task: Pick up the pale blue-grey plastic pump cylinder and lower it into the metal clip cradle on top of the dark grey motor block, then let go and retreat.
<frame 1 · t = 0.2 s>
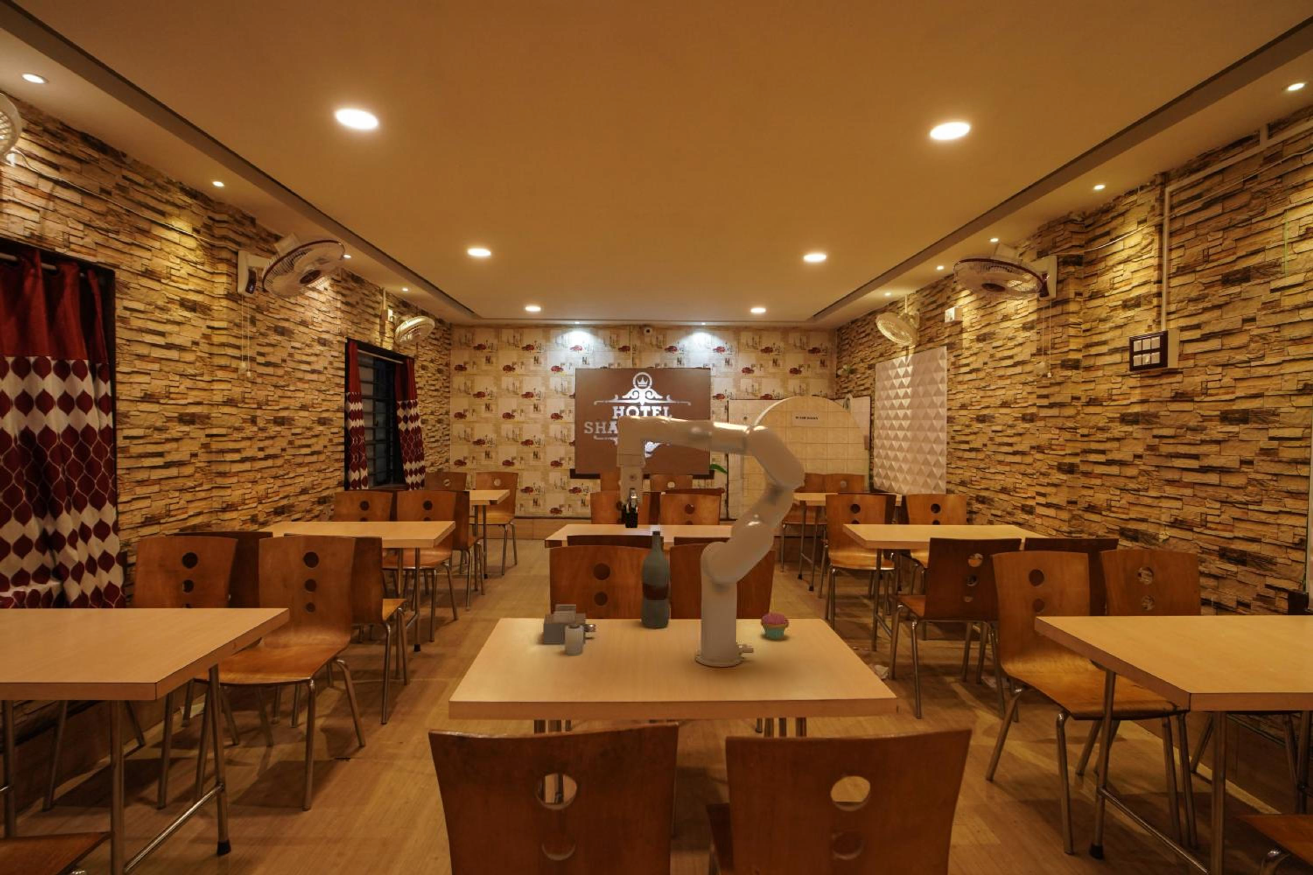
hand: (629, 525, 168), 36 cm above the table, tool pointing down, fingers open, 9 cm apart
bottle: (655, 625, 201), on the table
motor: (564, 638, 186), on the table
pump: (573, 652, 174), on the table
cupcake: (774, 637, 190), on the table
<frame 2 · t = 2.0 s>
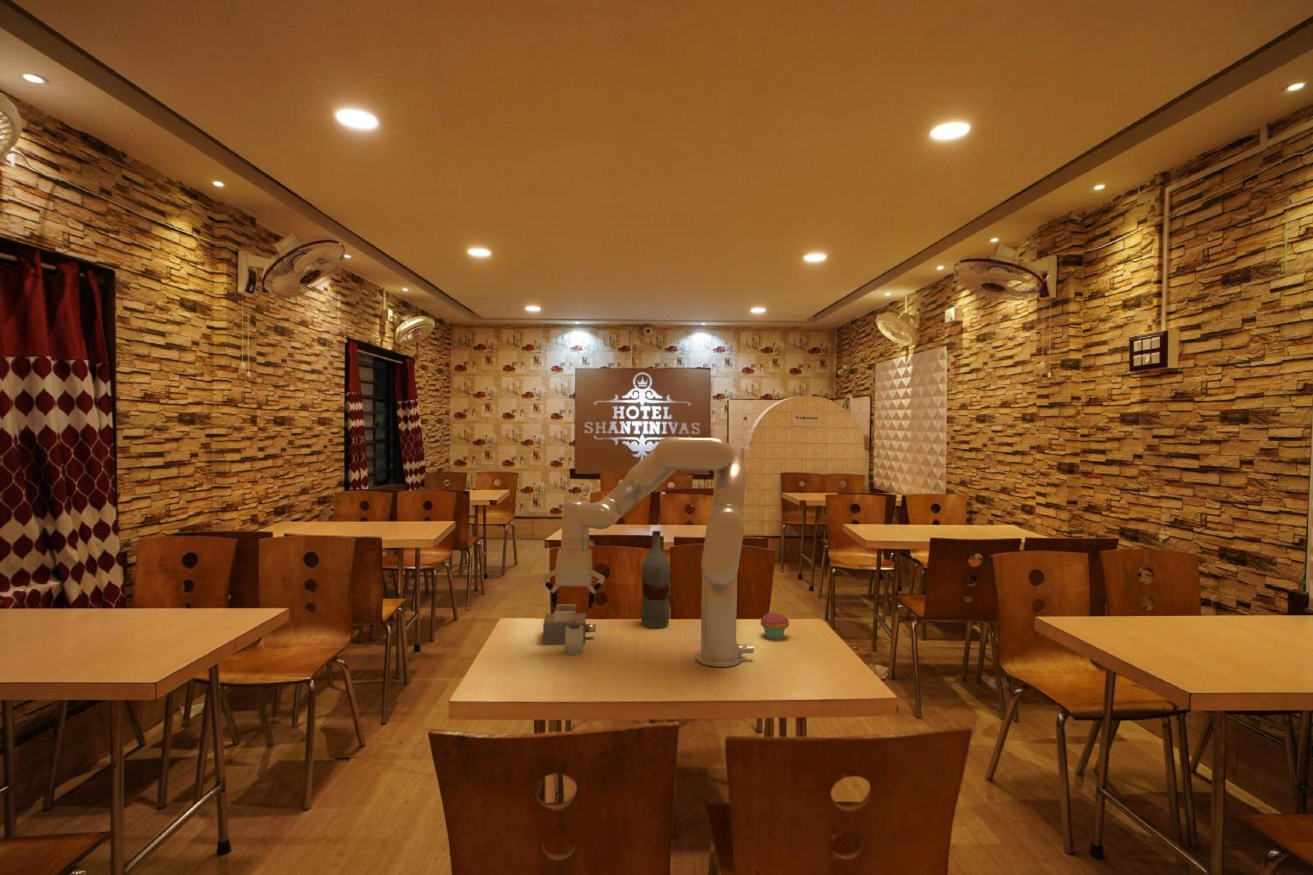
hand: (572, 606, 174), 13 cm above the table, tool pointing down, fingers open, 9 cm apart
nothing on the table moved.
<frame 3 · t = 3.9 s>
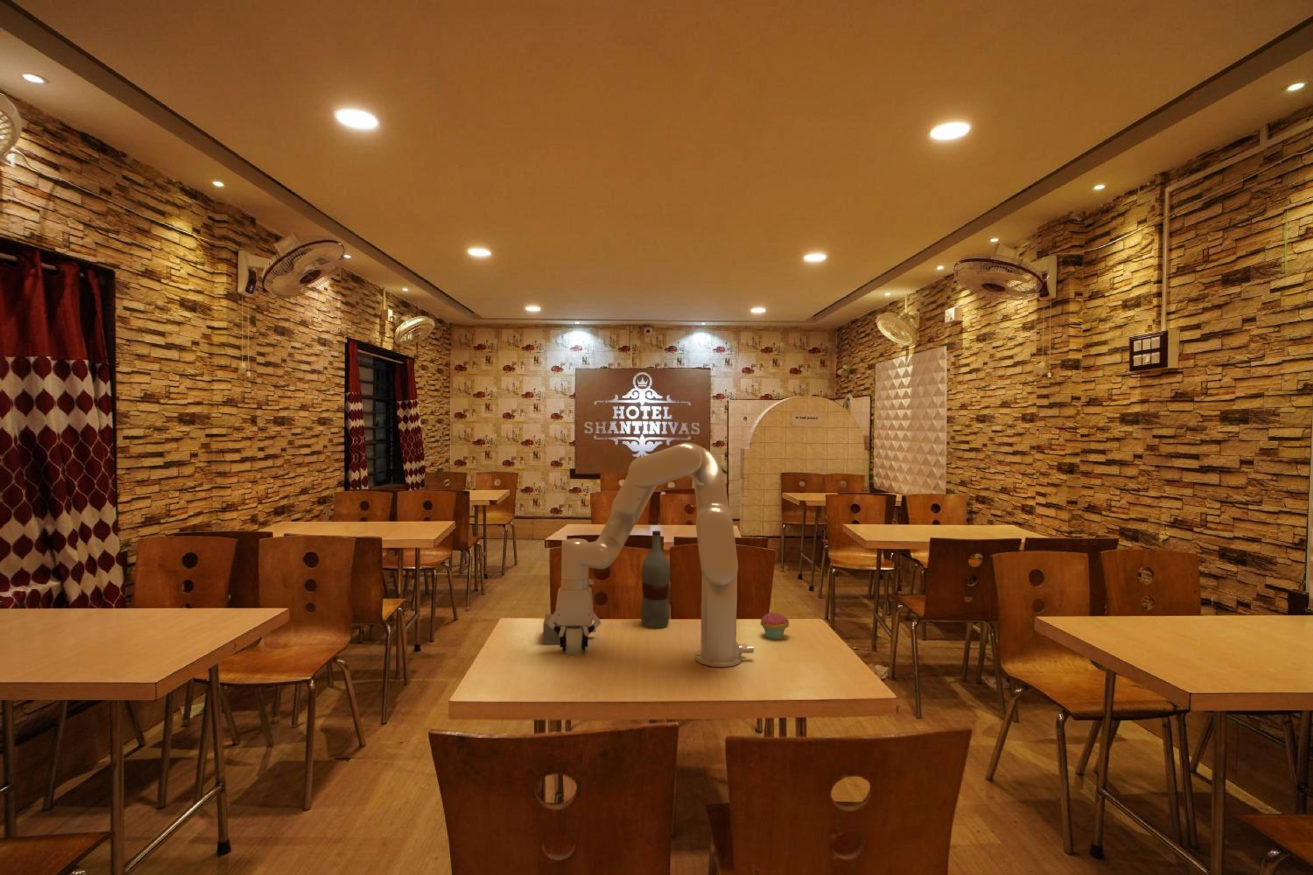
hand: (574, 648, 174), 1 cm above the table, tool pointing down, fingers closed on pump, 5 cm apart
pump: (573, 652, 174), on the table, touching gripper
everything else where it was.
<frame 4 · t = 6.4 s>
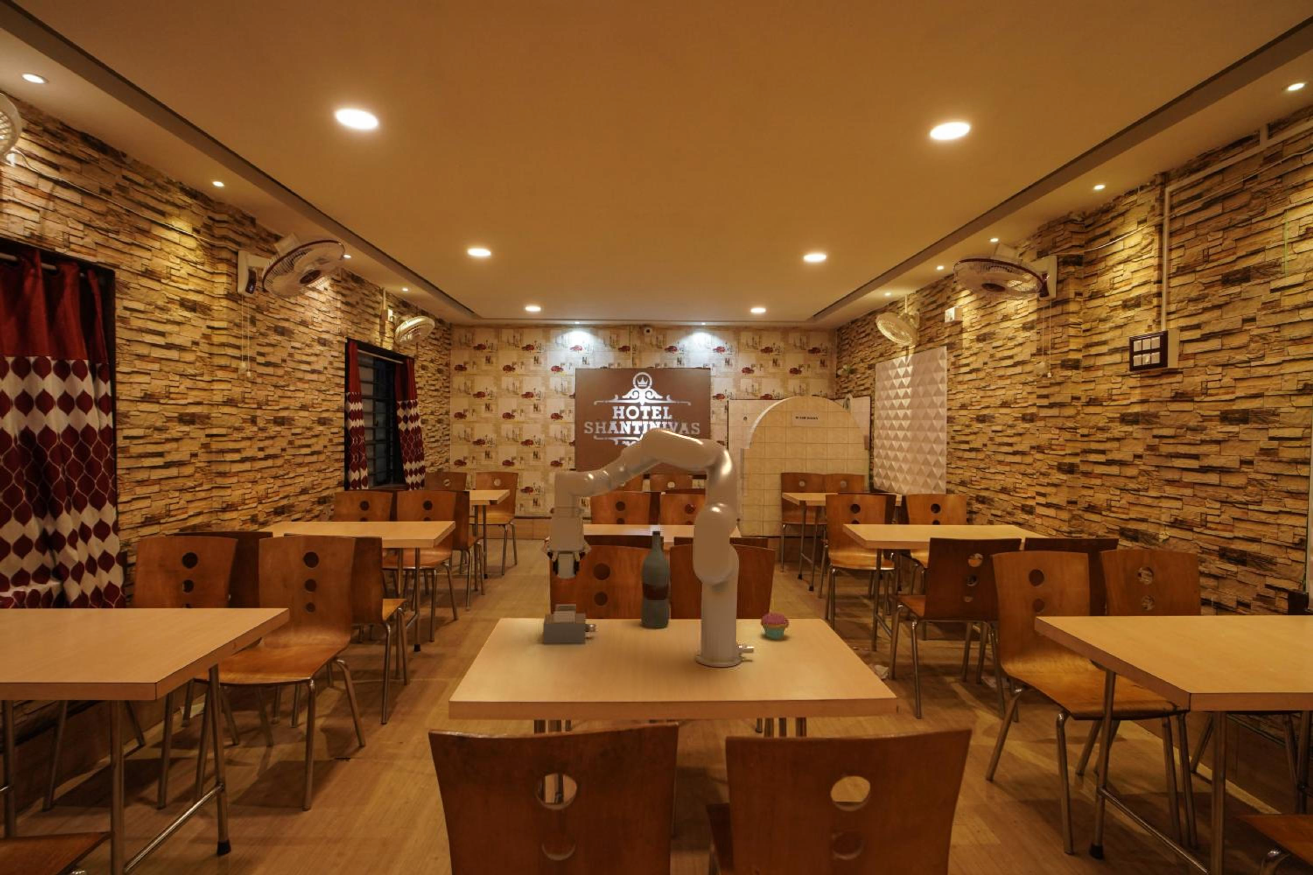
hand: (565, 573, 186), 19 cm above the table, tool pointing down, fingers closed on pump, 5 cm apart
pump: (565, 576, 186), point 18 cm above the table, touching gripper
everything else where it was.
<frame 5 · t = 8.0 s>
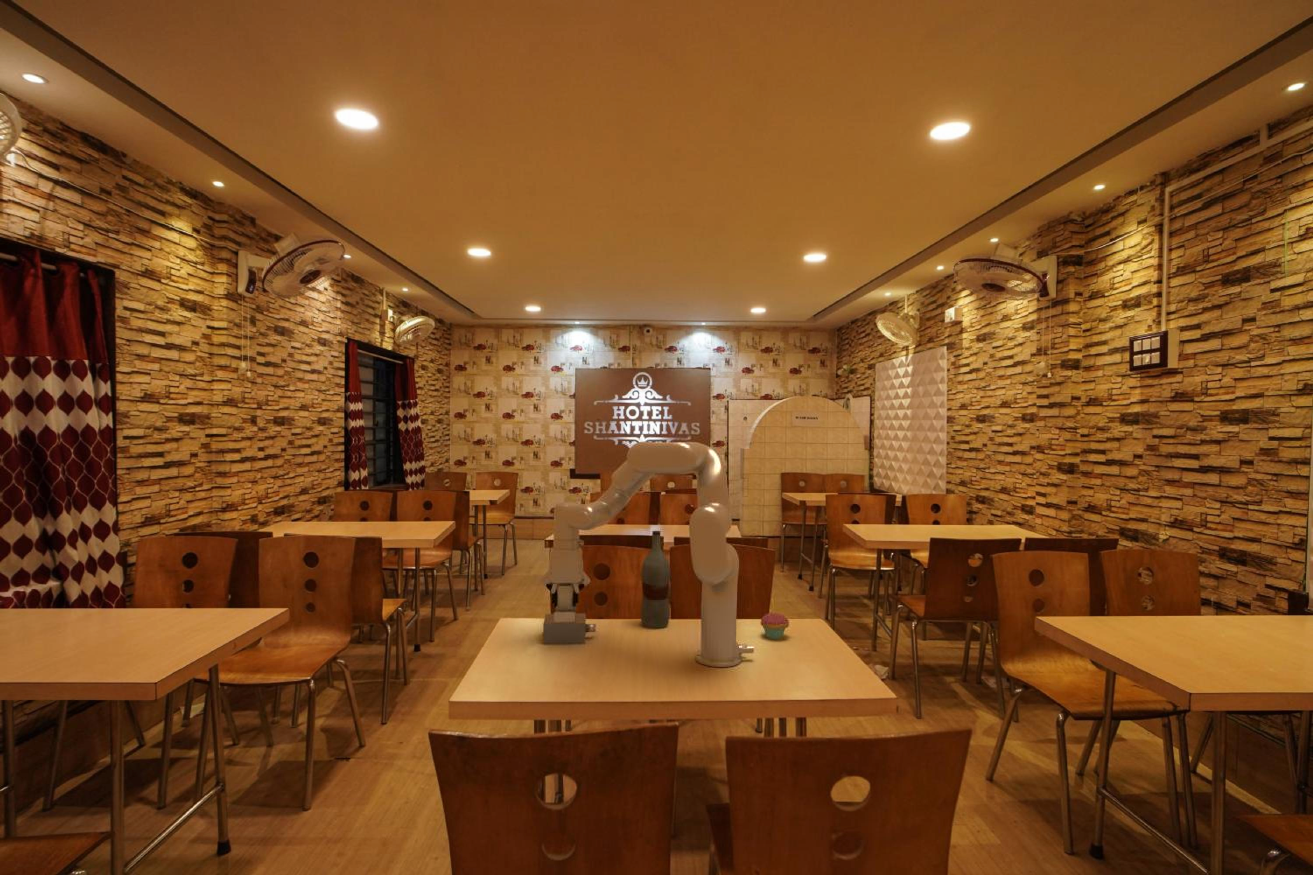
hand: (565, 605, 186), 10 cm above the table, tool pointing down, fingers closed on pump, 5 cm apart
pump: (565, 608, 186), point 9 cm above the table, touching gripper
everything else where it was.
when the fingers open (8 cm above the table, at t = 9.2 s): pump drops 1 cm, resting on motor.
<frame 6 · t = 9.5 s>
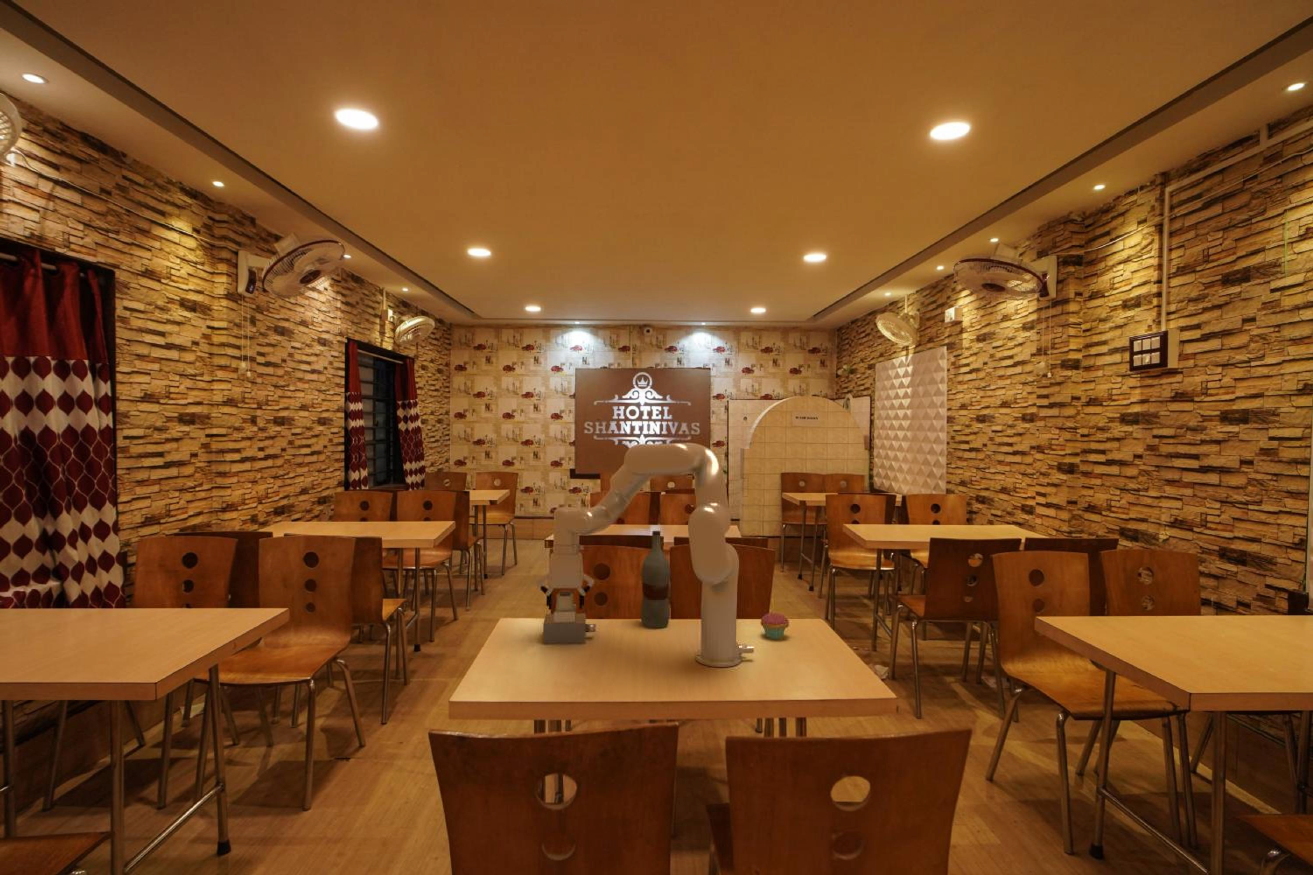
hand: (565, 607, 186), 9 cm above the table, tool pointing down, fingers open, 8 cm apart
pump: (564, 618, 186), point 6 cm above the table, touching motor
everything else where it was.
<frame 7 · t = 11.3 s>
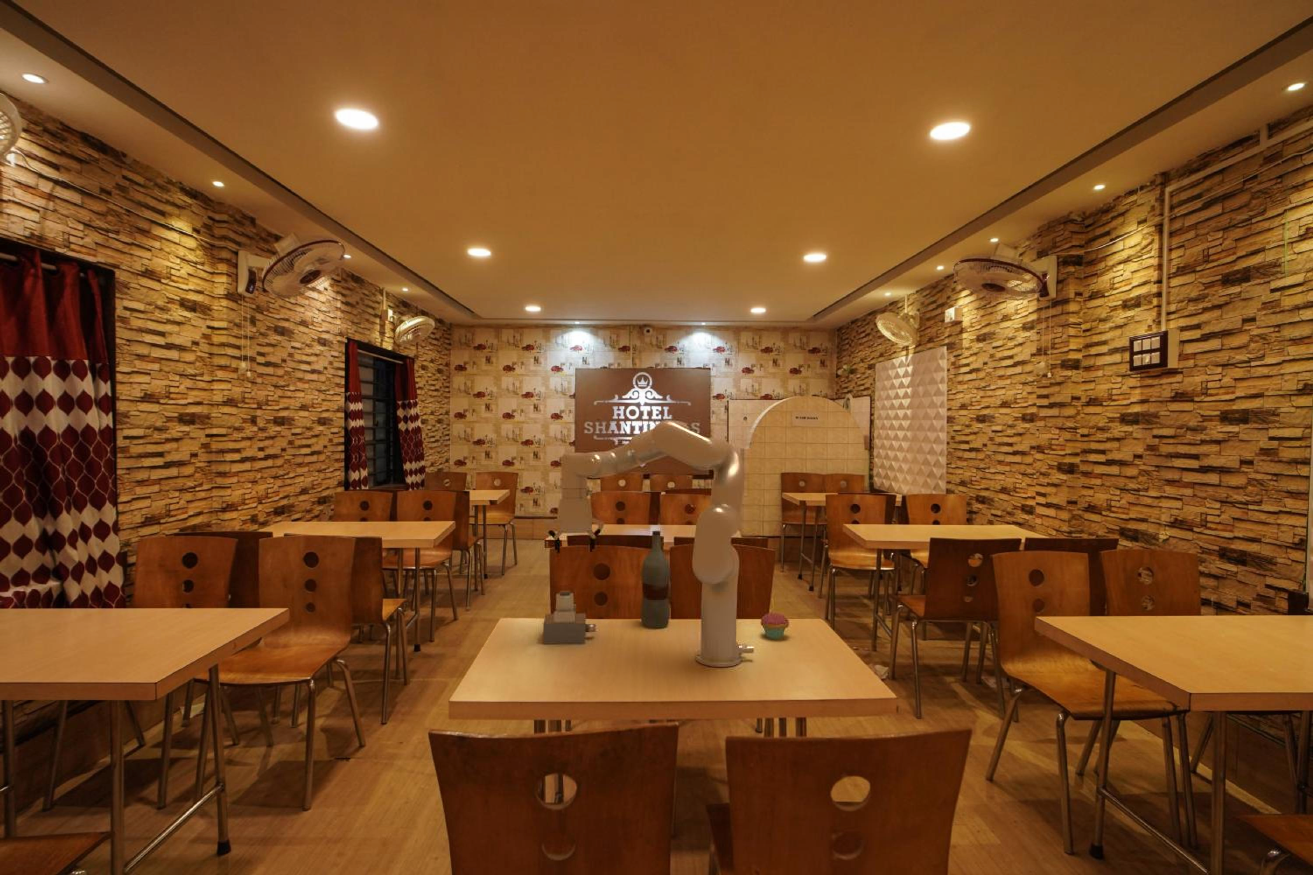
hand: (574, 551, 186), 26 cm above the table, tool pointing down, fingers open, 9 cm apart
nothing on the table moved.
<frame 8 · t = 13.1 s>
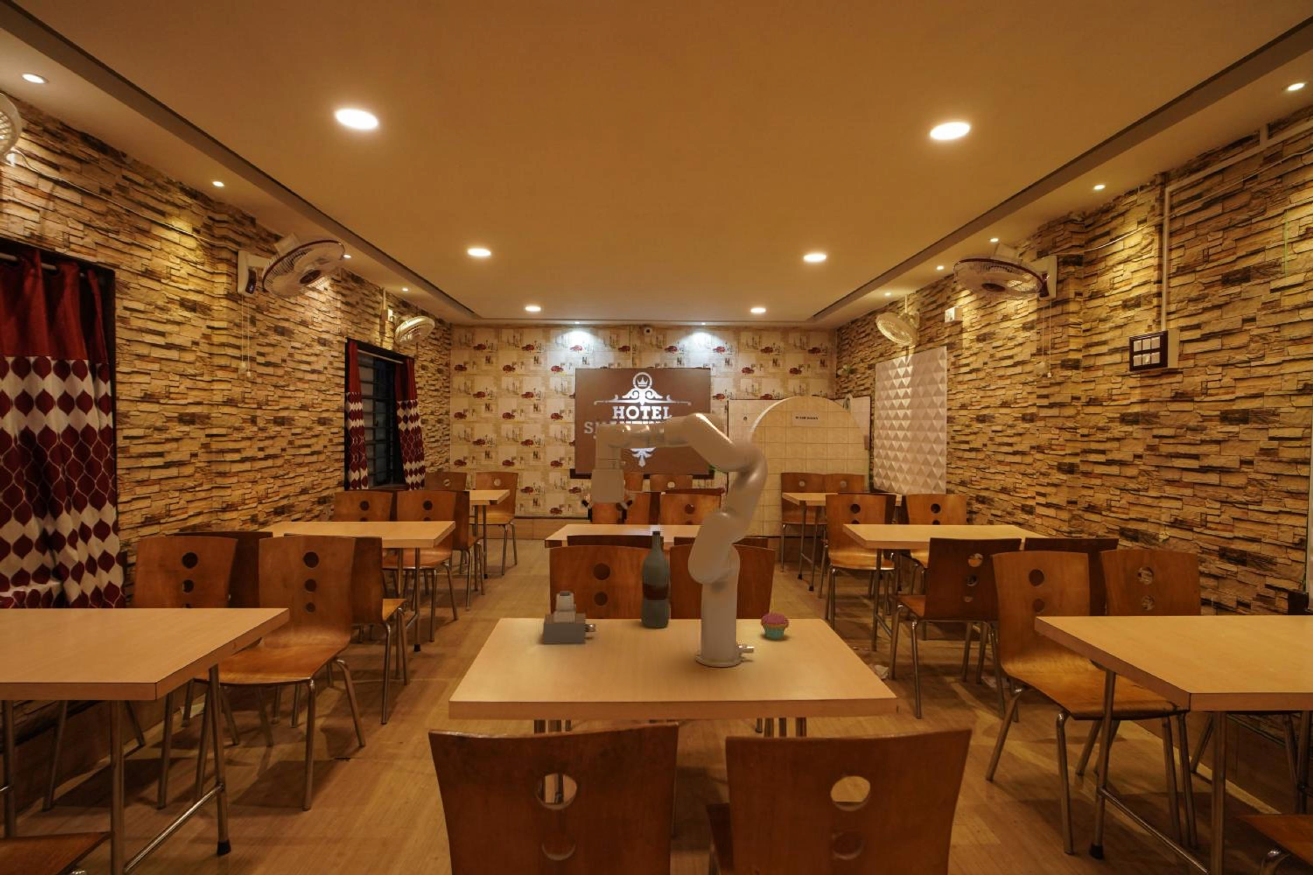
hand: (607, 521, 189), 34 cm above the table, tool pointing down, fingers open, 9 cm apart
nothing on the table moved.
at the end: pump 0.1 cm off-centre on the motor, point 6.1 cm above the motor's base; pump tilted 2°; the gripper is holding nothing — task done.
